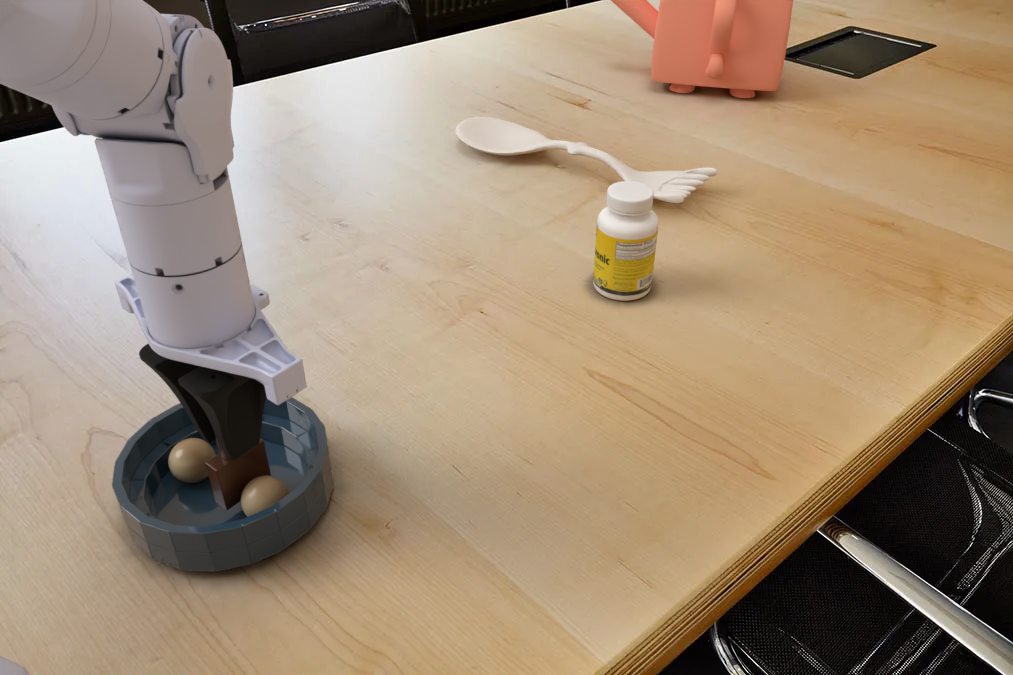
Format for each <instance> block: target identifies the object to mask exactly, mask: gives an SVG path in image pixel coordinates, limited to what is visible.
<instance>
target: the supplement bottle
mask: <svg viewBox="0 0 1013 675" xmlns="http://www.w3.org/2000/svg"><path fill="white" fill-rule="evenodd" d="M653 196H654V192H653V190H652V188H651V187H649V186H648V185H646V184H643V183H640V182H635V181H624V180H622V181H617V182H614V183H612V184H610V185H609V186H608V187H607V190H606V200H605V202H606V206H605V207H603V209H602V210H600V212H599V214H598V216H597V219H596V230H595V231H596V233H595V247H594V248H595V249H594V262H593V273H592V274H593V278H592V280H593V281H592V283H593V287H594V289H595V290H596V291H597V292H598V293H599V294H600V295H602V296H603V297H605V298H608V299H611V300H615V301H625V302H627V301H635V300H638V299H640V298H644V297H645V296H646V295H648V293H649V292H650V290H651V288H652V283H653V276H654V267H655V259H656V250H657V242H658V234H659V217H658V215H657V214H656V213H655V211H654V210H653V205H654V198H653Z"/></svg>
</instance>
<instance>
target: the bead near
mask: <svg viewBox="0 0 1013 675" xmlns="http://www.w3.org/2000/svg"><path fill="white" fill-rule="evenodd" d="M288 494H289V491H288V488H287V486H286V485H285V484H284V483H283V482H282V481H281V480H280V479H278V478H276V477H274V476H269V475H264V476H259V477H256V478H254V479H253V480H251V481H250V482H249V483H248V484H247V485H246V486H245V488H244V489H243V492H242V495H241V506H242V509H243V512H244V513H245V515H246V516H247V517H248V516H251V515H253V514H255V513H258V512H260V511H262V510H265V509H267V508H270V507H271V506H273V505H274V504H276V503H277V502H278V501H280V500H281V499H283V498H284V497H285V496H287V495H288Z"/></svg>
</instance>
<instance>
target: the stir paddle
mask: <svg viewBox="0 0 1013 675" xmlns="http://www.w3.org/2000/svg"><path fill="white" fill-rule="evenodd" d="M214 433H215V432H214ZM215 437H216V435H215ZM216 441H217V445H218V449H219V454H218V455H216V456H215V457H213V458H212V459H210V460H209V461H207V462H206V463H205V464H206V468H207V471H208V475H209V479H210V483H211V486H212V490H213V494H214V497H215V501H216V503H218V504H219V505H220V506H222V507H223V508H224V509H226V510H229V509H230V508H232V507H233V506H234V505H236V504H237V503H239V502H240V501H241V495H242V492H243V489H244V488H245V486H246V485H247V484H248V483H249V482H250V481H251V480H253V479H254V478H256V477H259V476H264V475H269V476H271V473H270V468H269V463H268V458H267V454H266V449H265V444H264V440H263V439H261V438H260V442H259V444H258V445H256V446H255V447H253V448H252V449H250V450H249V451H247V452H245V453H244V454H242V455H241V456H239V457H238V458H236V459H232V458H230V457H229V456H227V455H226V453H225V452H224V451H223V449H222V448H221V446H220V444H219V442H218V440H217V437H216Z"/></svg>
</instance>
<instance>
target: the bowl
mask: <svg viewBox="0 0 1013 675" xmlns="http://www.w3.org/2000/svg"><path fill="white" fill-rule="evenodd" d="M188 438H199V439H202V440H204V441H206V440H205V439H203V437H202V436H201V435H200V434H199V432H198V431H197V429H196V428H195V426H194V424H193V423H192V421H191V419H190V418H189V416H188V414H187V413H186V411H185V409H184V408H183V406H182V405H181V403H180V402H179V403H177V404H175V405H173V406H171V407H169V408H167V409H165V410H164V411H162V412H161V413H159V414H157V415H155V416H153V417H151V418H150V419H149V420H148V421H146V422H145V423H144V424H143V425H142V426H141V427H140V428H139V429H138V430H137V431H135V433H134V434H133V435H131V436H130V437H129V438H128V440H127V441H126V443H125V444H124V446H123V447H122V450H121V451H120V453H119V455H118V457H117V458H116V460H115V462H114V465H113V466H114V467H113V473H112V474H113V475H112V482H111V486H112V490H113V493H114V495H115V498H116V501H117V503H118V506H119V509H120V513H121V514H122V518H123V520H124V523H125V525H126V528H127V531H128V533H129V536H130V538H131V540H132V543H133V545H134V546H136V547H137V548H138V549H140V550H141V552H143V553H144V554H145V555H146V556H148V558H150V559H151V560H153V561H155V562H157V563H160V564H163V565H166V566H169V567H172V568H174V569H178V570H181V571H186V572H187V571H190V572H222V571H227V570H231V569H235V568H241V567H246V566H250V565H254V564H255V563H256V564H257V563H258V562H261V561H262V560H265V559H267V558H269V557H272V556H274V555H276V554H278V553H281V552H282V551H284V550H286V549H288V548H289V547H290V546H291V545H293V544H294V543H295V542H296V541H297V540H299V539H301V537H303V536H304V535H305V534H307V533H308V532H309V531H310V530H311V529H312V528H313V526H314V525H315V524H316V523H317V521H318V520H319V518H320V517H321V515H322V514H323V513H324V512H325V510H326V509H327V508H328V505H329V502H330V498H331V494H332V491H333V487H334V476H333V469H332V462H331V457H330V450H329V442H328V436H327V430H326V426H325V424H324V423H323V422H322V420H321V419H320V417H319V416H318V415H317V414H316V412H315V411H314V409H313V408H311V407H309V406H307V404H304V403H303V402H301V401H300V400H298V399H296V398H295V397H294V396H293V397H291V398H290V399H288V400H286V401H284V402H283V403H281V404H280V405H276V404H275V403H273V402H271V401H270V400H268V399H267V397H266V401H265V405H264V411H263V418H262V426H261V435H260V438H261V439H263V440H264V444H265V449H266V454H267V458H268V463H269V468H270V473H271V476H274V477H276V478H278V479H280V480H281V481H282V482H283V483H284V484H285V485H286V486H287V488H288V491H289V494H288V495H287V496H285V497H284V498H283V499H281V500H280V501H278V502H277V503H276V504H274V505H273V506H271V507H270V508H267V509H265V510H262V511H260V512H258V513H255V514H253V515H251V516H248V517H247V516H246V515H245V513H244V512H243V509H242V506H241V501H240V502H239V503H237V504H236V505H234V506H233V507H232V508H230V509H229V510H226V509H224V508H223V507H222V506H220V505H219V504H218V503H216V501H215V497H214V494H213V490H212V486H211V483H210V479H209V476H208V477H207V478H206V479H204V480H203V481H200V482H197V483H185V482H182V481H180V480H178V479H177V478H176V477H174V475H173V474H172V473H171V471H170V469H169V464H168V459H169V455H170V452H171V450H172V449H173V447H174V446H175V445H176V444H177V443H179V442H180V441H182V440H184V439H188ZM206 442H207V441H206ZM208 443H209V442H208ZM209 444H210V445H211V446H212V448H213V449H214V451H215V454H216V455H218V454H219V449H218V445H217V441H216V439H215V440H214V441H212V442H211V443H209Z"/></svg>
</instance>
